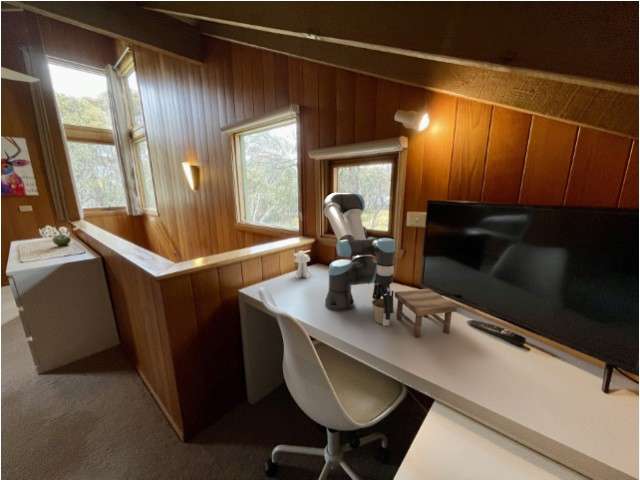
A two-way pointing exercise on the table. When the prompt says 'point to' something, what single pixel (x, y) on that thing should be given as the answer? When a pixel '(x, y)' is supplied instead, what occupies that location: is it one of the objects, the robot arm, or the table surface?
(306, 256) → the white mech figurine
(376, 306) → the flower pot
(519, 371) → the table surface
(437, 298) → the walnut stool
